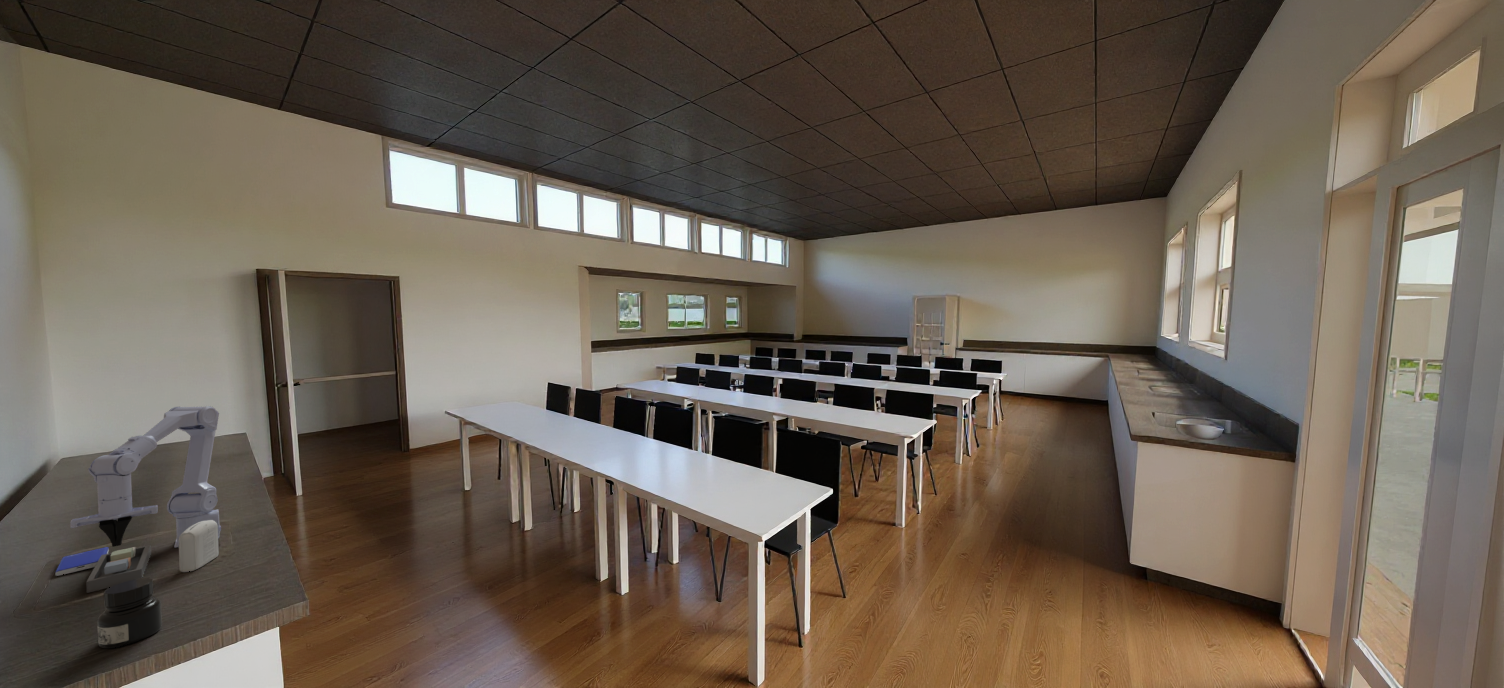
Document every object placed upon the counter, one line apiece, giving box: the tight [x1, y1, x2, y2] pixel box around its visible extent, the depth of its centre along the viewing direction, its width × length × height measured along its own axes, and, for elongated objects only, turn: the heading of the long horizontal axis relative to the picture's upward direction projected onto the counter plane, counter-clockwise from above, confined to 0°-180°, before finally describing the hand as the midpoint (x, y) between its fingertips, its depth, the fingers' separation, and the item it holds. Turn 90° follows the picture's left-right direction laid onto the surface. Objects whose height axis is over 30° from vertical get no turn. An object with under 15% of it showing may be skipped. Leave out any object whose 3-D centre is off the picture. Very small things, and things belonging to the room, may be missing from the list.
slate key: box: [104, 558, 128, 575], centre depth 131 cm, size 4×4×3 cm
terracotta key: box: [111, 557, 131, 571], centre depth 134 cm, size 4×4×3 cm
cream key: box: [117, 546, 136, 558], centre depth 141 cm, size 4×4×3 cm
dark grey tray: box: [85, 544, 152, 594], centre depth 136 cm, size 9×21×3 cm, turn 47°
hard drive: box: [55, 546, 110, 577], centre depth 140 cm, size 2×8×12 cm
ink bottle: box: [96, 577, 163, 649], centre depth 109 cm, size 10×9×12 cm
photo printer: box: [178, 520, 220, 573], centre depth 141 cm, size 10×4×12 cm, turn 20°
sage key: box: [110, 547, 133, 561], centre depth 138 cm, size 4×4×3 cm
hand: (117, 545), depth 133 cm, fingers closed
